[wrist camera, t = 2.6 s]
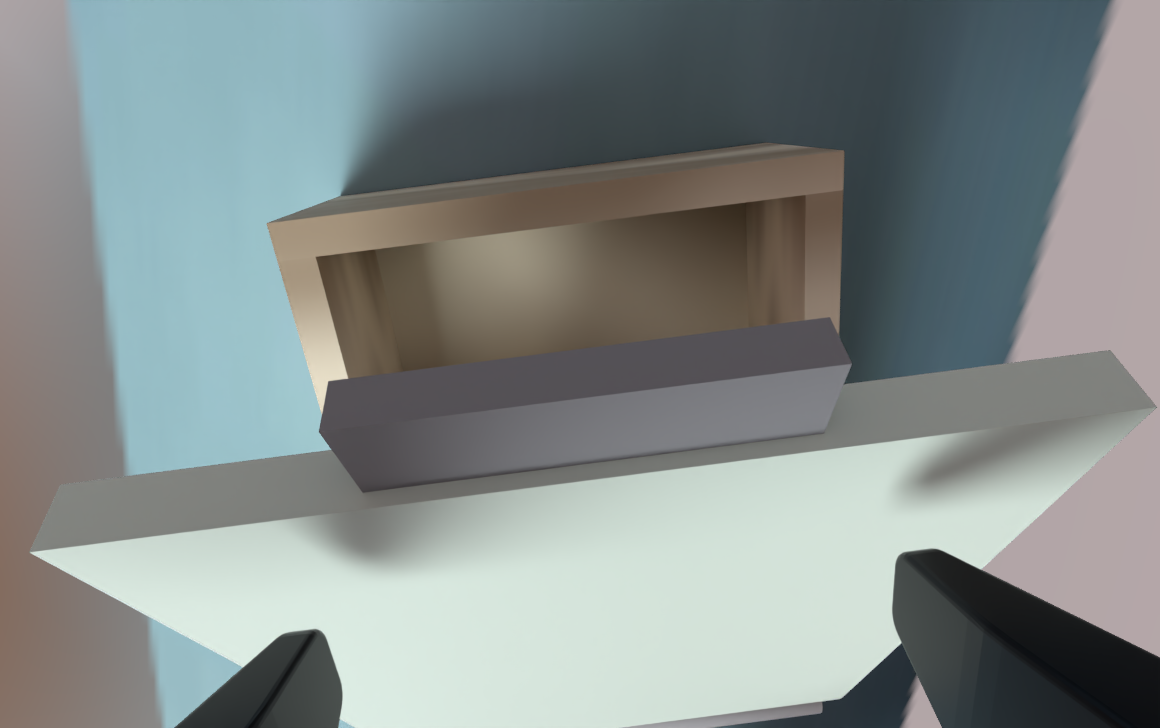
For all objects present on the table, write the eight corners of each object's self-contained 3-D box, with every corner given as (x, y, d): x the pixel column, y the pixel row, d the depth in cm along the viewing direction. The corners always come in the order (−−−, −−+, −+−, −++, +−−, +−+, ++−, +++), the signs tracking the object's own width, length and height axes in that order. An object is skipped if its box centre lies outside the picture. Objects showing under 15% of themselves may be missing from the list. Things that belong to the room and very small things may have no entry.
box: (771, 554, 23) (829, 664, 18) (437, 597, 23) (410, 719, 18) (766, 142, 18) (844, 150, 13) (339, 196, 18) (266, 223, 13)
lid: (823, 676, 19) (835, 714, 18) (419, 729, 19) (417, 769, 18) (1177, 272, 6) (1254, 348, 6) (-26, 425, 6) (-82, 519, 6)
